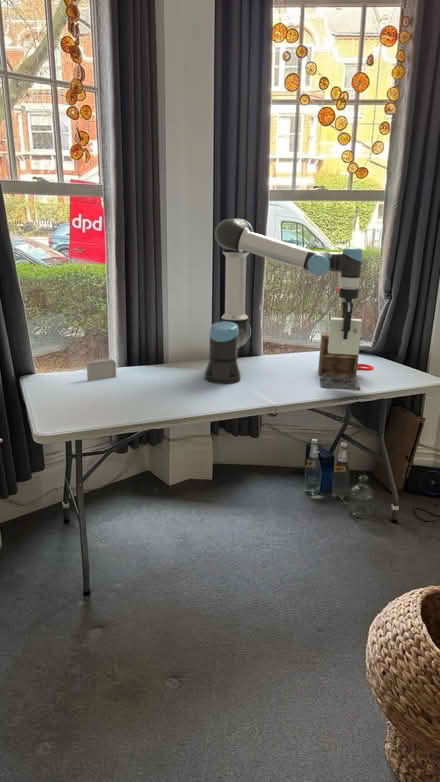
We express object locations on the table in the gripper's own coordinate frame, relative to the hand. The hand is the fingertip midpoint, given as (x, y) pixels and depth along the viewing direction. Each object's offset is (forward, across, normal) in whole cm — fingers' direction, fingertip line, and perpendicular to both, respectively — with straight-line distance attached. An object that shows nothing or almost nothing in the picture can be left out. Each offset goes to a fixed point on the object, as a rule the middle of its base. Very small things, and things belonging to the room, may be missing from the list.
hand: (343, 345), depth 233 cm
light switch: (+17, -13, +98) cm, 100 cm away
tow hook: (+17, +30, -13) cm, 37 cm away
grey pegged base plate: (+17, 0, 0) cm, 17 cm away
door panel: (+3, 0, 0) cm, 3 cm away
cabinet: (+17, +16, 0) cm, 23 cm away
